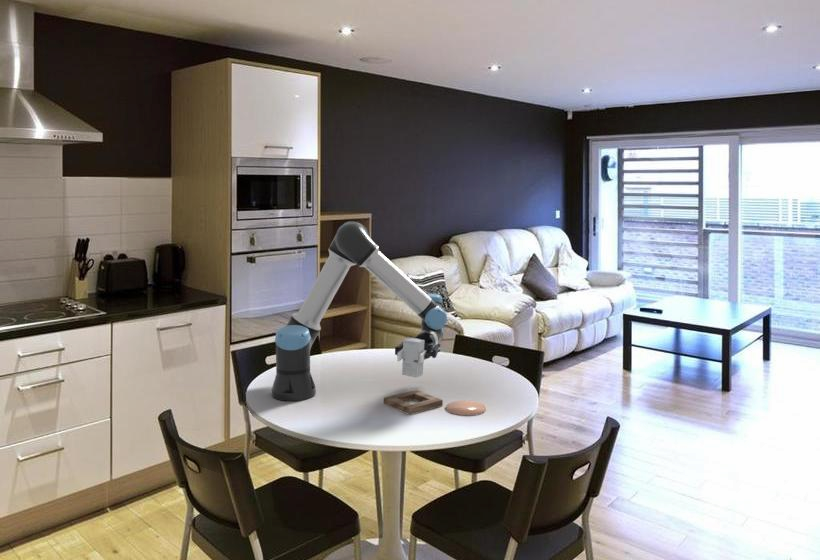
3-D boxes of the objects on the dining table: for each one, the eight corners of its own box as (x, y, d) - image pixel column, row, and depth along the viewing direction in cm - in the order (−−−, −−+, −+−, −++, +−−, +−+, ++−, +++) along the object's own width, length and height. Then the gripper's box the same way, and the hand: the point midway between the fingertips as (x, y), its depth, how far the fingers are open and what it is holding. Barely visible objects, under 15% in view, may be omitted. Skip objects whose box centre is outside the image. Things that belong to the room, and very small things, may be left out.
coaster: (437, 407, 217) (437, 405, 217) (466, 399, 225) (466, 398, 225) (465, 418, 207) (465, 416, 207) (494, 409, 215) (494, 408, 215)
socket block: (383, 403, 221) (383, 397, 221) (415, 395, 230) (415, 389, 229) (409, 414, 210) (409, 408, 210) (442, 405, 219) (442, 399, 219)
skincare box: (401, 375, 218) (401, 339, 216) (408, 372, 222) (408, 336, 220) (417, 378, 215) (418, 341, 213) (424, 374, 219) (424, 339, 217)
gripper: (452, 354, 233) (439, 371, 211) (398, 350, 238) (380, 367, 216) (452, 333, 232) (439, 349, 210) (399, 330, 237) (380, 344, 215)
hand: (409, 358), depth 213 cm, fingers closed on skincare box, 7 cm apart
